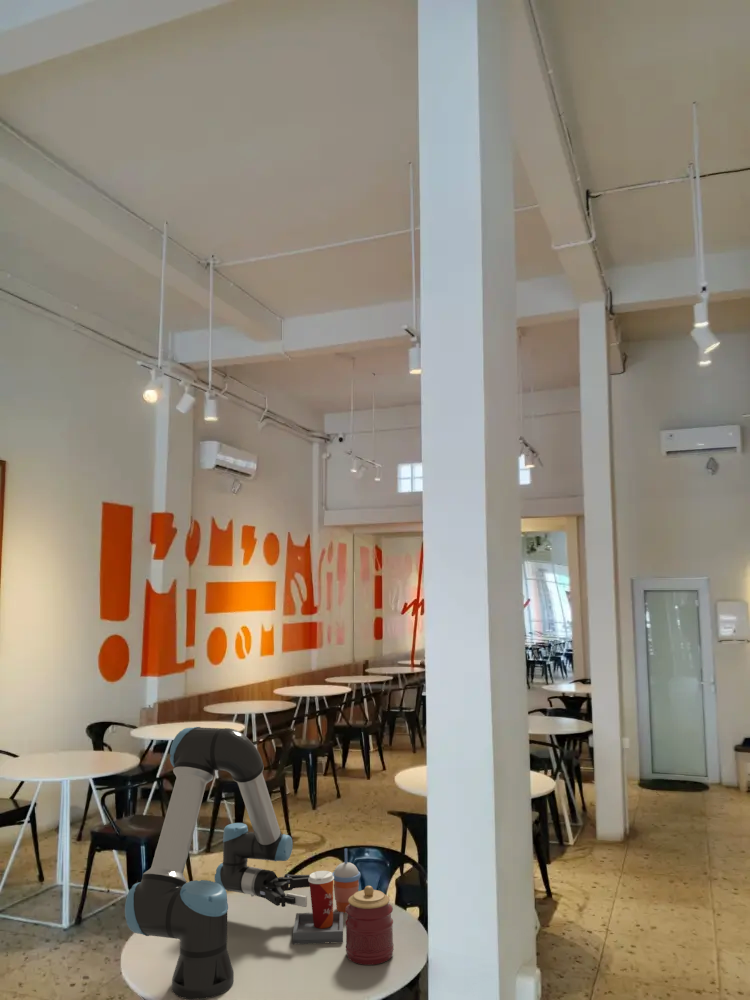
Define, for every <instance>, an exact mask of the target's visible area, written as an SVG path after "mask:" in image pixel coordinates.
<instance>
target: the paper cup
mask: <svg viewBox="0 0 750 1000" xmlns="http://www.w3.org/2000/svg"><path fill="white" fill-rule="evenodd" d="M332 873H333V872H331V871H329V870H317V871H313V872H312V873H310V874H309V875H310V876H309V879H308V881H309V883H310V887H309V891H310V892H309V893H310V902H311V913H313V922H314V927H316V928H319V929H324V928H328V927H331V926H332V925H333V912H334V876H333V874H332Z"/></svg>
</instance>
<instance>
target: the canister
mask: <svg viewBox="0 0 750 1000" xmlns="http://www.w3.org/2000/svg"><path fill="white" fill-rule="evenodd" d="M348 902H349V905H348V906H347V907H346V909H345V911H346V913H345V914H346V915H347V917H346V919H345V921H344V922H345V933H346V935H345V937H346V938H345V939H346V942H345V943H346V944H345V953H346V957H347V960H349V961H350V962H353V963H355V964H358V965H366V966H373V965H374V966H375V965H380V964H383V963H385V961H386V962H387V961H389V960H391V958H392V957H393V955H394V939H393V938H394V935H393V929H394V928H393V924H394V920H393V917H392V912H393V910H394V908H393V906H392V904H391V903H390V896H388V894H385V893H384V892H383V891H381V890H379V889H378V890H377V889H374V888H373V886H371V885H366V886H365V887H364V889H362V890H358V892H356V893H355V894H354V895H352V896H351V897H350V898H349V899H348Z"/></svg>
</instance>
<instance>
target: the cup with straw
mask: <svg viewBox="0 0 750 1000" xmlns="http://www.w3.org/2000/svg"><path fill="white" fill-rule="evenodd" d="M332 874H333V876H334V880H333V894H334V900H335V906H336V912H343V914H347V913H346V911H345V909H346V907H347V906H348V905H349V902H348V899H349V898H350V897H351V896H352V895H354V894H355V893H356V892H358V891H359V889H360V888H359V887H360V882H359V880H360V879H361V877H362V876H361V872H360V871H359V870H358V868H357V866H356V865H355V864H354V863H352V862H348V848H346V847H345V848H344V862H340V863H339V864H337V866H336V867H335V868H334V871H333V872H332Z"/></svg>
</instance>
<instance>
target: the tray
mask: <svg viewBox="0 0 750 1000" xmlns="http://www.w3.org/2000/svg"><path fill="white" fill-rule="evenodd" d="M292 931H293V932H292V945H309V944H308V943H312V944H313V943H316V944H326V943H325V942H329V943H328V944H332V943H331V942H343V943H344V913H343V912H338V911H333V925H332V926H331V927H328V928H324V929H319V928H316V927H314V922H313V913H312V912H297V913H295V918H294V924H293V930H292ZM312 944H311V945H312ZM313 945H314V944H313Z"/></svg>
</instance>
